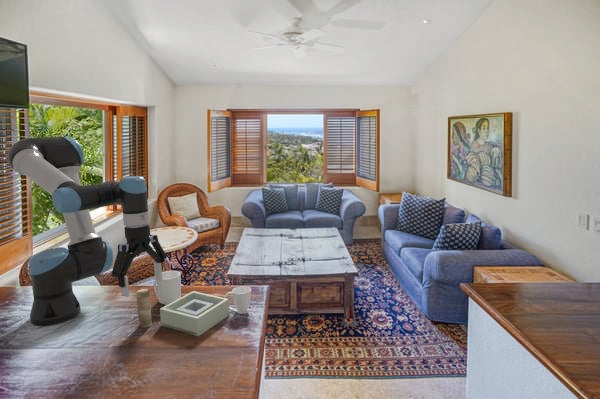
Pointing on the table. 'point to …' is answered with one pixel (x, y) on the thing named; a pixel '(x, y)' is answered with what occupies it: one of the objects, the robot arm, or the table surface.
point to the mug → (168, 287)
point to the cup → (241, 299)
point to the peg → (144, 308)
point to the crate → (194, 313)
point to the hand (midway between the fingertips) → (143, 288)
